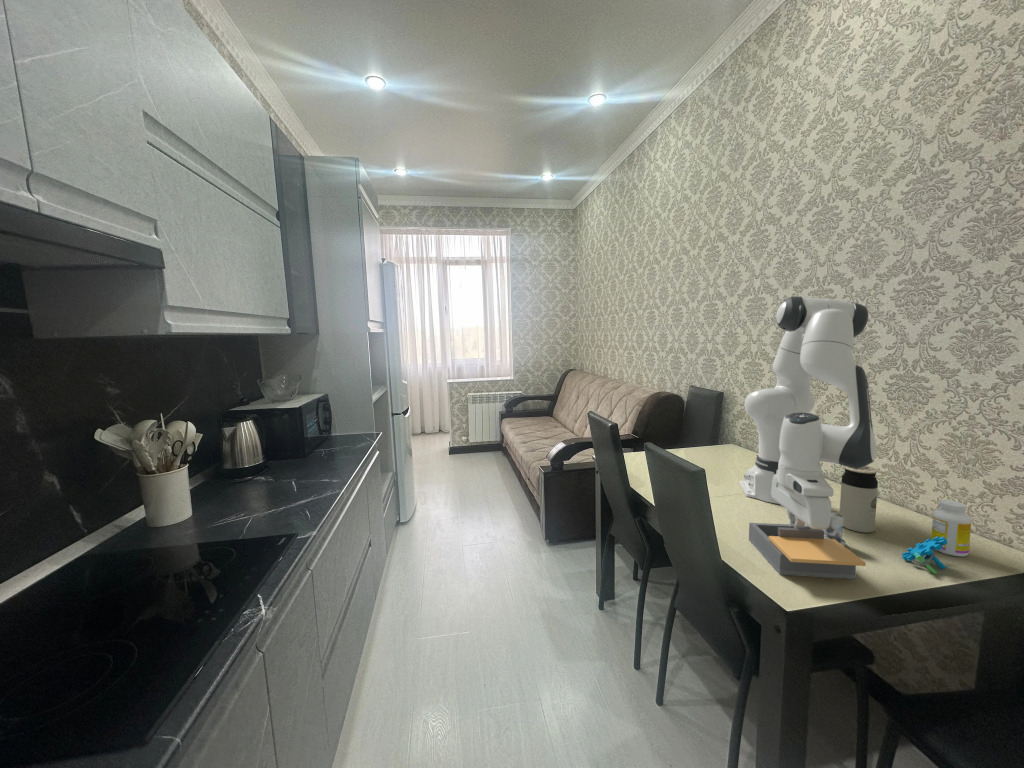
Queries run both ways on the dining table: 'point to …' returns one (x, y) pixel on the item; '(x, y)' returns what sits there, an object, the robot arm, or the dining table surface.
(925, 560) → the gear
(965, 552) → the supplement bottle
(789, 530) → the lid
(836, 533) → the silver rounded cylinder
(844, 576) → the housing
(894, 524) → the dining table surface
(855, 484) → the travel mug
